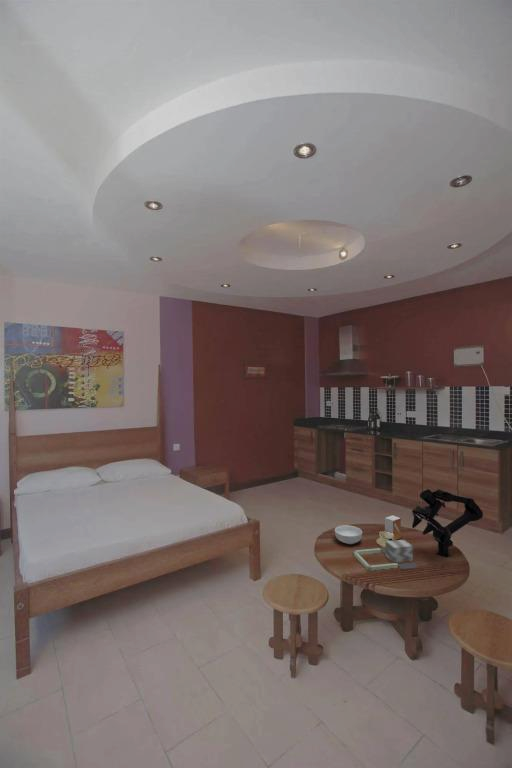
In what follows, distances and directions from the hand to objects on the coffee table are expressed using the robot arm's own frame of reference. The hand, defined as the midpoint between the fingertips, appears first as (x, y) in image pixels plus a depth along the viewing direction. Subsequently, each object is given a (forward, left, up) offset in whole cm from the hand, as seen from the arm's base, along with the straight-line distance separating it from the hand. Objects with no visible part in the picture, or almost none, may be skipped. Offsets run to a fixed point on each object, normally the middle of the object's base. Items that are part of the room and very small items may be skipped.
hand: (417, 530), depth 204 cm
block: (+9, -7, -15) cm, 19 cm away
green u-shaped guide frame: (+17, -13, -15) cm, 26 cm away
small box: (-14, -21, -15) cm, 29 cm away
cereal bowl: (+10, -39, -15) cm, 43 cm away
